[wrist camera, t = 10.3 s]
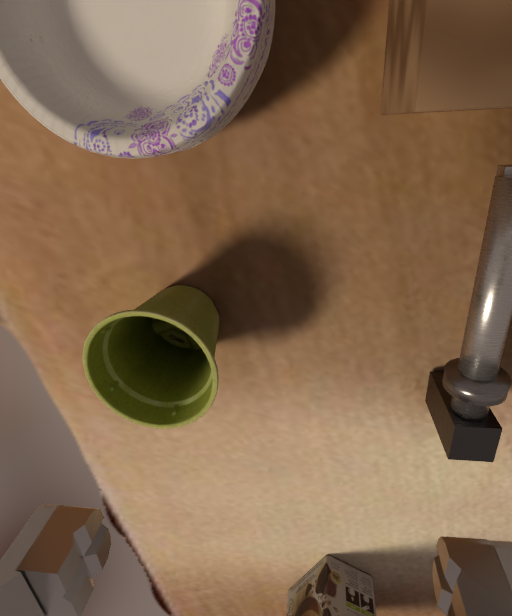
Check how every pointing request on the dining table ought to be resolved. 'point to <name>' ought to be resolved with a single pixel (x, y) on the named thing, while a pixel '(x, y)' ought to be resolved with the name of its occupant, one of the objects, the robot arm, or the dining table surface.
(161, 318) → the plant pot
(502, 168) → the metal shaft with collar
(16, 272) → the dining table surface
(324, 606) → the coffee box
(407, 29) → the block
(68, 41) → the paper bowls
